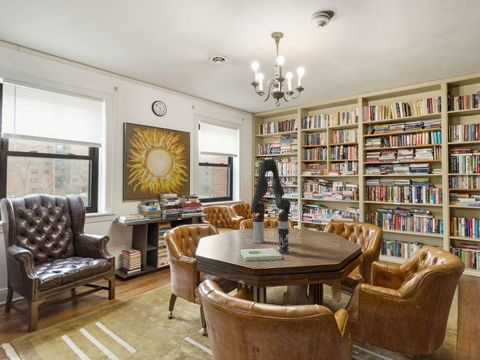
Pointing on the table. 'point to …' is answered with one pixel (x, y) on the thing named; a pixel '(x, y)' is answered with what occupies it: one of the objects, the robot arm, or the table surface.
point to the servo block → (282, 249)
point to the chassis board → (260, 254)
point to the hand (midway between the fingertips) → (283, 250)
